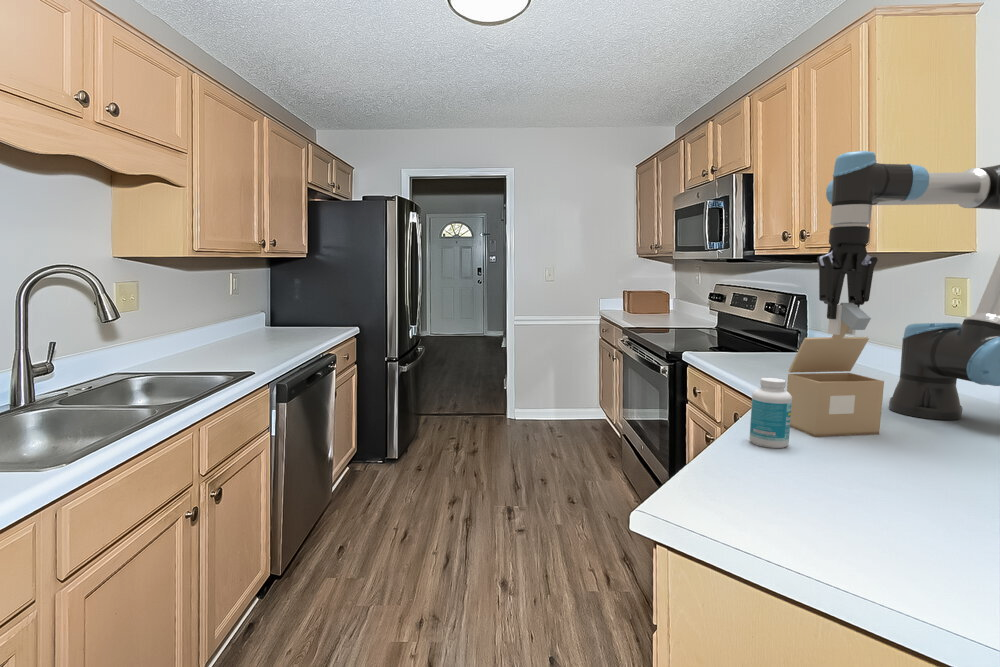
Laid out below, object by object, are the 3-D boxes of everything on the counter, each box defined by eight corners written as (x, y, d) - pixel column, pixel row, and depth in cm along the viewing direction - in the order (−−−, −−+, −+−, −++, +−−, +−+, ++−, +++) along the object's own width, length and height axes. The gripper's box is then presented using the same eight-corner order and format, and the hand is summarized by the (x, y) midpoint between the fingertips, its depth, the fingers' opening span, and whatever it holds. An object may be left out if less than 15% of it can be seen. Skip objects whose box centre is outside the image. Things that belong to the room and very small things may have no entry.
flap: (860, 381, 132) (844, 364, 137) (897, 318, 122) (878, 302, 127) (798, 382, 130) (784, 366, 135) (831, 318, 120) (814, 302, 125)
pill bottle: (793, 450, 115) (798, 384, 114) (753, 447, 117) (758, 382, 115) (782, 439, 123) (787, 377, 121) (745, 437, 124) (749, 375, 122)
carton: (845, 422, 137) (849, 372, 136) (879, 434, 127) (884, 381, 126) (784, 424, 135) (788, 373, 133) (814, 437, 125) (819, 382, 123)
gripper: (868, 228, 130) (859, 332, 133) (804, 226, 127) (797, 332, 130) (896, 226, 123) (887, 335, 125) (829, 223, 120) (821, 336, 122)
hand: (841, 333), depth 128 cm, fingers closed on flap, 3 cm apart
